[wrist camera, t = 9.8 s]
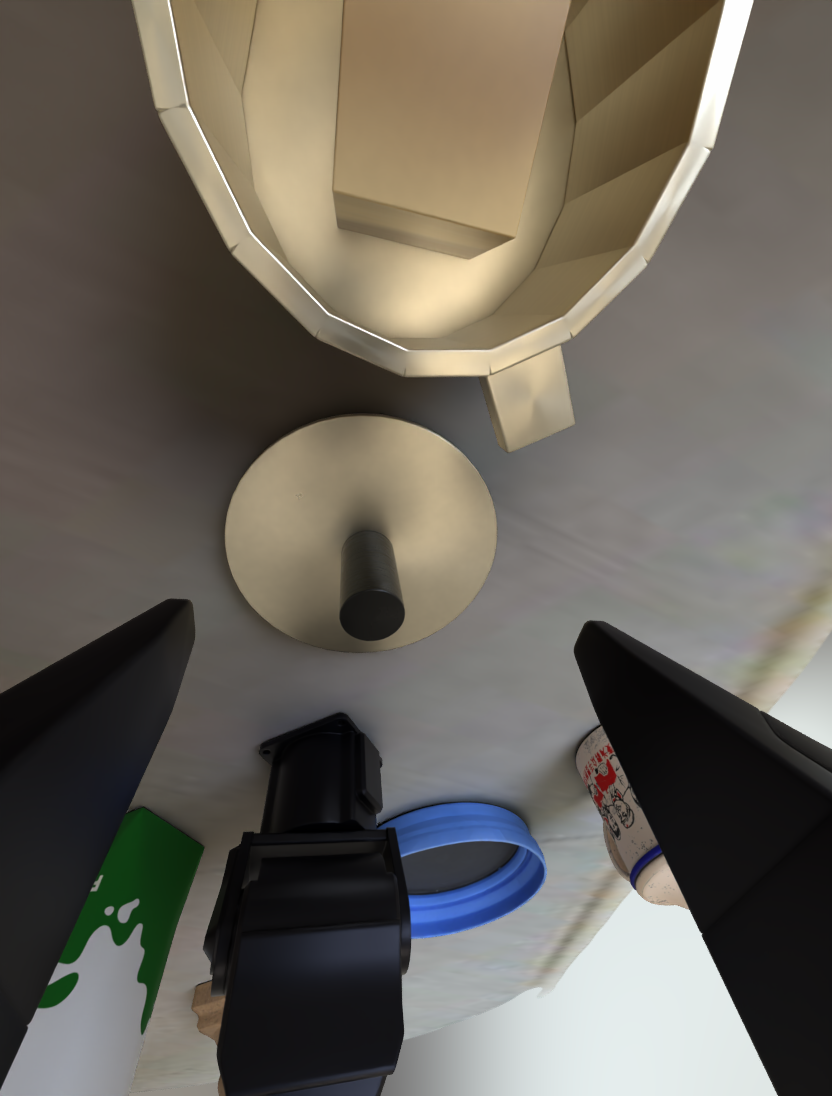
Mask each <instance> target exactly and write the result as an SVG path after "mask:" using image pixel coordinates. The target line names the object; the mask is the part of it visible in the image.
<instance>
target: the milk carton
mask: <svg viewBox="0 0 832 1096" xmlns="http://www.w3.org/2000/svg"><path fill="white" fill-rule="evenodd" d="M203 851H204V847H203V846H202V845H200V844H199V843H197V842H196V841H194V840H193V839H191V838H190V837H188V836H186V835H185V834H183V833H182V832H180V831H179V830H177V829H176V828H174V827H173V826H171V825H170V824H168V823H167V822H165V821H164V820H162V819H160V818H159V817H157V816H156V815H154V814H153V813H151V812H150V811H148V810H147V809H145V808H143V807H142V808H140V809H138V810H135V811H132V812H130V813H127V814H125V816H124V819H123V821H122V823H121V825H120V827H119V830H118V832H117V834H116V836H115V838H114V841H113V843H112V845H111V847H110V849H109V852H108V854H107V856H106V858H105V860H104V863H103V865H102V867H101V869H100V871H99V874H98V876H97V878H96V880H95V882H94V885H93V887H92V889H91V891H90V893H89V896H88V898H87V900H86V902H85V904H84V907H83V909H82V911H81V913H80V915H79V918H78V920H77V922H76V924H75V926H74V929H73V931H72V933H71V935H70V937H69V940H68V942H67V944H66V946H65V948H64V950H63V953H62V955H61V957H60V959H59V961H58V964H57V966H56V968H55V970H54V972H53V975H52V977H51V979H50V981H49V983H48V986H47V988H46V990H45V992H44V994H43V997H42V999H41V1001H40V1003H39V1005H38V1008H37V1010H36V1012H35V1014H34V1016H33V1019H32V1021H31V1022H30V1024H28V1025H27V1026H28V1030H27V1033H26V1035H25V1037H24V1039H23V1041H22V1044H21V1046H20V1048H19V1050H18V1052H17V1055H16V1057H15V1059H14V1061H13V1063H12V1066H11V1068H10V1070H9V1072H8V1074H7V1077H6V1079H5V1081H4V1083H3V1085H2V1088H1V1090H0V1096H129V1093H130V1089H131V1085H132V1082H133V1078H134V1075H135V1071H136V1068H137V1064H138V1061H139V1057H140V1053H141V1050H142V1046H143V1043H144V1039H145V1036H146V1032H147V1029H148V1025H149V1022H150V1018H151V1014H152V1011H153V1007H154V1004H155V1000H156V997H157V993H158V990H159V986H160V983H161V979H162V976H163V972H164V968H165V965H166V961H167V958H168V954H169V951H170V947H171V944H172V940H173V937H174V933H175V930H176V927H177V924H178V921H179V918H180V916H181V913H182V910H183V907H184V904H185V902H186V899H187V896H188V893H189V890H190V887H191V885H192V882H193V879H194V876H195V873H196V871H197V868H198V865H199V862H200V859H201V857H202V854H203Z"/></svg>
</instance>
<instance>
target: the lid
mask: <svg viewBox="0 0 832 1096" xmlns="http://www.w3.org/2000/svg"><path fill="white" fill-rule="evenodd" d="M496 545H497V520H496V513H495V509H494V505H493V501H492V498H491V495H490V493H489V491H488V488H487V486H486V484H485V482H484V480H483V479H482V477H481V475H480V474H479V472H478V470H477V469H476V468H475V467H474V466H473V464H472V463H471V462H470V461H469V459H468V458H467V457H466V456H465V455H464V454H463V453H462V452H461V451H460V450H459V449H458V448H457V447H456V446H454V445H453V444H452V443H451V442H450V441H448V440H447V439H445V438H444V437H442V436H441V435H439V434H438V433H436V432H434V431H432V430H430V429H428V428H426V427H424V426H422V425H420V424H417V423H414V422H411V421H408V420H405V419H402V418H399V417H393V416H388V415H382V414H367V413H356V414H344V415H337V416H332V417H328V418H323V419H319V420H316V421H314V422H311V423H308V424H306V425H303V426H300V427H298V428H297V429H295V430H293V431H291V432H289V433H287V434H285V435H284V436H282V437H281V438H279V439H278V440H277V441H275V442H274V443H273V444H271V445H270V446H269V447H267V448H266V449H265V450H264V451H263V452H262V453H261V454H260V455H259V456H258V457H257V458H256V459H255V460H254V461H253V463H252V464H251V465H250V467H249V468H248V470H247V471H246V472H245V474H244V475H243V476H242V478H241V480H240V481H239V483H238V485H237V487H236V489H235V491H234V493H233V495H232V498H231V502H230V505H229V508H228V511H227V516H226V523H225V549H226V554H227V560H228V564H229V567H230V570H231V573H232V576H233V578H234V580H235V582H236V584H237V586H238V588H239V590H240V591H241V593H242V594H243V596H244V597H245V598H246V600H247V601H248V603H249V604H250V605H251V606H252V607H253V608H254V609H255V610H256V612H257V613H258V614H259V615H260V616H261V617H263V618H264V619H265V620H266V621H267V622H269V623H270V624H271V625H272V626H274V627H275V628H277V629H278V630H280V631H281V632H283V633H285V634H287V635H289V636H291V637H292V638H294V639H296V640H298V641H301V642H304V643H307V644H309V645H312V646H315V647H319V648H323V649H327V650H333V651H339V652H351V653H366V652H378V651H385V650H391V649H395V648H399V647H403V646H406V645H409V644H412V643H414V642H417V641H419V640H422V639H424V638H426V637H428V636H430V635H432V634H434V633H435V632H437V631H439V630H440V629H442V628H444V627H445V626H446V625H448V624H449V623H450V622H452V621H453V620H454V619H455V618H456V617H457V616H459V615H460V614H461V613H462V612H463V611H464V610H465V609H466V608H467V607H468V605H469V604H470V603H471V602H472V601H473V600H474V598H475V597H476V595H477V594H478V592H479V591H480V589H481V588H482V586H483V584H484V582H485V580H486V578H487V576H488V574H489V572H490V569H491V566H492V563H493V560H494V556H495V550H496Z"/></svg>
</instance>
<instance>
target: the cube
mask: <svg viewBox="0 0 832 1096" xmlns="http://www.w3.org/2000/svg"><path fill="white" fill-rule="evenodd" d="M570 5H571V0H343V14H342V30H341V47H340V64H339V80H338V97H337V114H336V130H335V147H334V164H333V180H332V192H333V199H334V207H335V214H336V221H337V227H338V228H340V229H344V230H348V231H353V232H357V233H361V234H365V235H369V236H373V237H377V238H382V239H386V240H390V241H394V242H398V243H402V244H406V245H411V246H415V247H419V248H423V249H427V250H431V251H435V252H440V253H444V254H448V255H452V256H456V257H460V258H464V259H472V258H474V257H476V256H478V255H481V254H483V253H485V252H487V251H489V250H491V249H493V248H496V247H498V246H500V245H502V244H504V243H506V242H508V241H511V240H513V239H515V238H516V235H517V231H518V226H519V222H520V218H521V214H522V209H523V205H524V201H525V197H526V192H527V188H528V184H529V180H530V175H531V171H532V167H533V162H534V158H535V154H536V150H537V145H538V141H539V137H540V133H541V128H542V124H543V120H544V116H545V111H546V107H547V103H548V99H549V94H550V90H551V86H552V81H553V77H554V73H555V69H556V64H557V60H558V56H559V52H560V47H561V43H562V39H563V35H564V30H565V26H566V22H567V18H568V13H569V9H570Z"/></svg>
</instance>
